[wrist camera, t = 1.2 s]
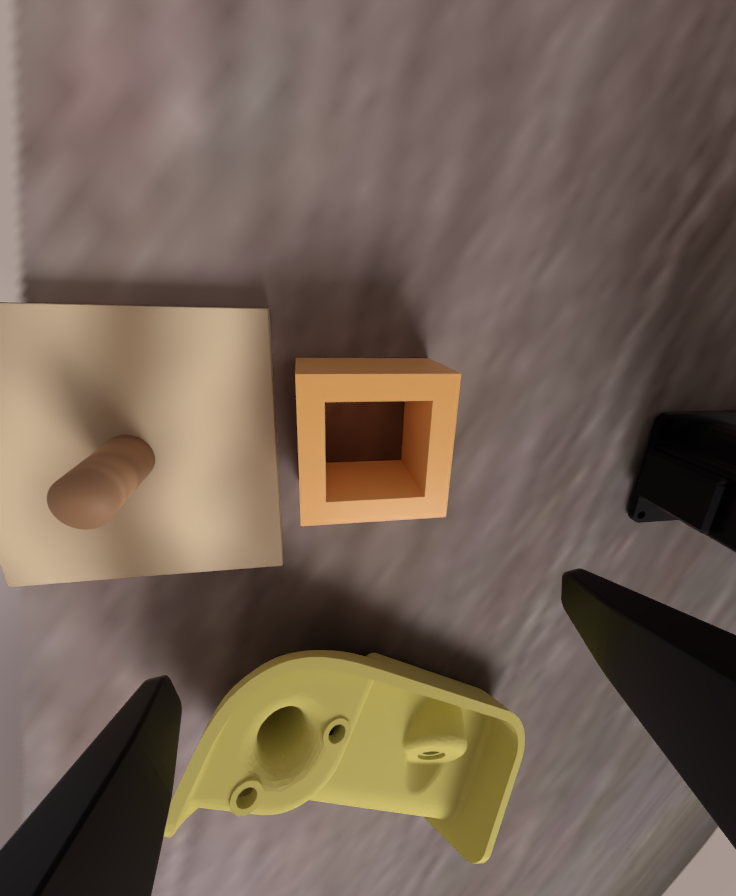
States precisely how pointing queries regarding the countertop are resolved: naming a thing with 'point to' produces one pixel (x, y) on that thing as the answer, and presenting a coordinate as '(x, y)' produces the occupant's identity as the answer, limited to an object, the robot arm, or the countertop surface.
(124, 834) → the robot arm
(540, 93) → the countertop surface
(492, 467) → the countertop surface
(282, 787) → the plastic component
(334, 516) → the orange nut
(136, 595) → the countertop surface
